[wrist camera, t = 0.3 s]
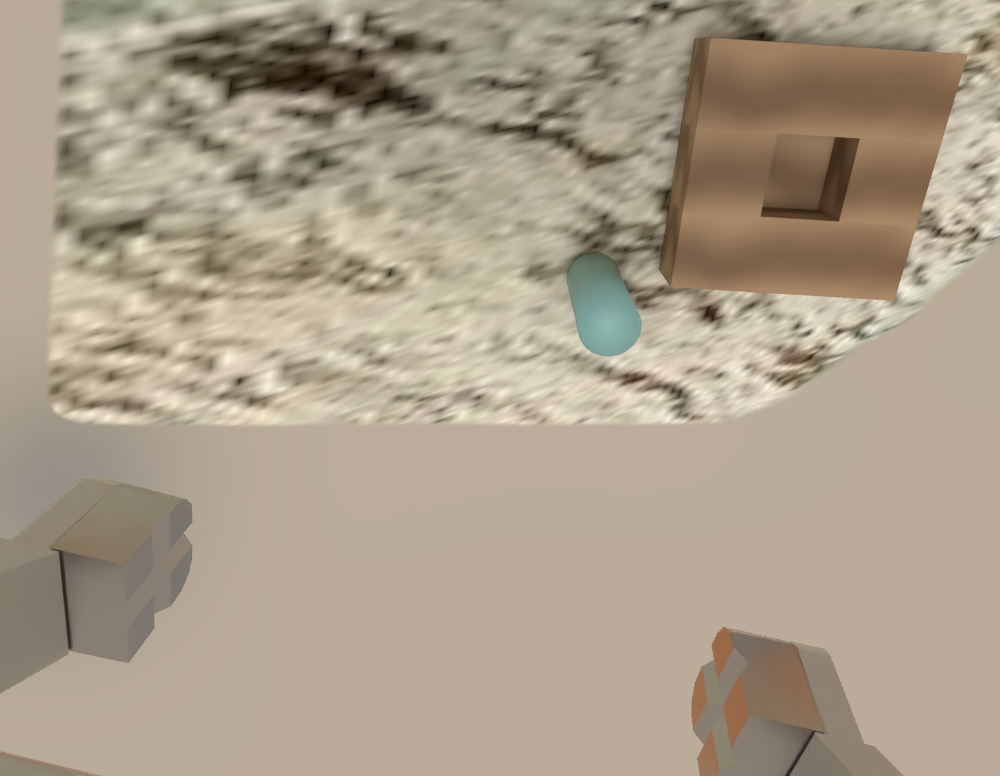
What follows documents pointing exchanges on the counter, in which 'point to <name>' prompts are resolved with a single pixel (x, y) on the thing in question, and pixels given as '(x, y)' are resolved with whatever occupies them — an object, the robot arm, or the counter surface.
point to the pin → (602, 305)
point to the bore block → (804, 166)
